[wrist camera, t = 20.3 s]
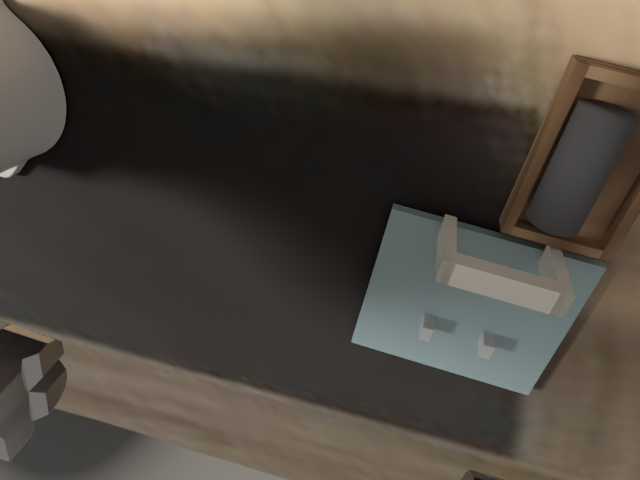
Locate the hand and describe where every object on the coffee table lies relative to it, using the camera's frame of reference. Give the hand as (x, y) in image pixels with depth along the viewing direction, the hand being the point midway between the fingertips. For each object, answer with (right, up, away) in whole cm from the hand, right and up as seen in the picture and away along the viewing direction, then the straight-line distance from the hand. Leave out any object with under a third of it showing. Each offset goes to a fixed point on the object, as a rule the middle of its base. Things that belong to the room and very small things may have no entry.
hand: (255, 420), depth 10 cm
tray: (+21, +10, +30) cm, 38 cm away
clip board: (+15, -2, +39) cm, 42 cm away
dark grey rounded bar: (+21, +9, +29) cm, 37 cm away
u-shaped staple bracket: (+16, +4, +33) cm, 37 cm away
